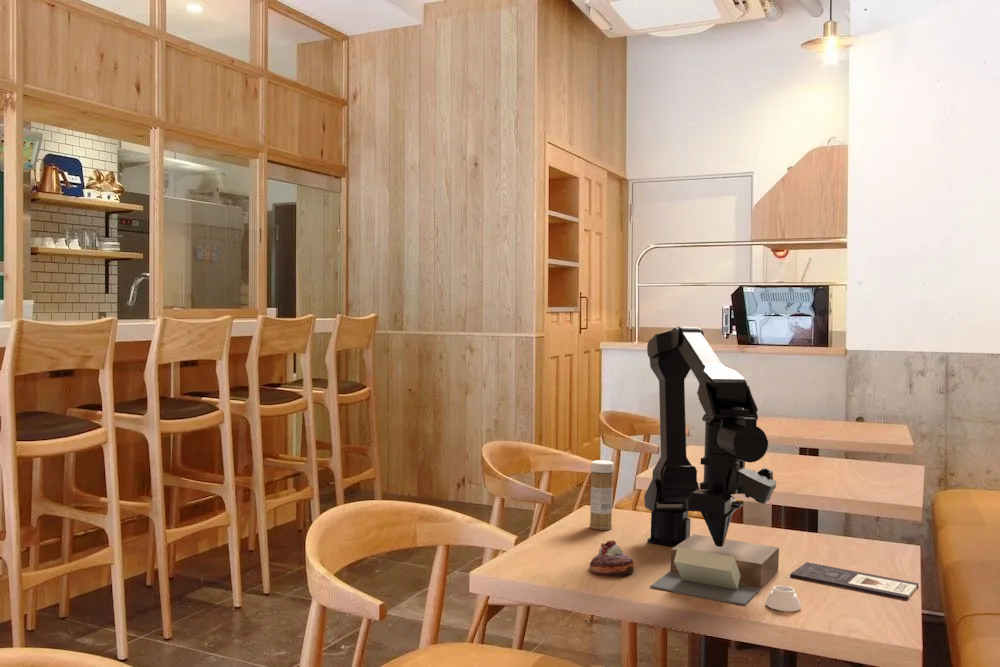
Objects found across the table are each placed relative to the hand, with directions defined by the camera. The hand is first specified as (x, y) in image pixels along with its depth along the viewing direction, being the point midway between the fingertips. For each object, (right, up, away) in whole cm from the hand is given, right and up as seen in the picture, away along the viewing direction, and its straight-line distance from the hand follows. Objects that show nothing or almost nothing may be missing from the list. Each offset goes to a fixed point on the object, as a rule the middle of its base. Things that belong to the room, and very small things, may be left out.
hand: (719, 546), depth 146 cm
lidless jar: (+6, -6, -13) cm, 16 cm away
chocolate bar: (+22, -7, 0) cm, 23 cm away
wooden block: (+2, -5, +4) cm, 7 cm away
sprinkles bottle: (-16, -4, +32) cm, 36 cm away
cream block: (-3, -1, -5) cm, 6 cm away
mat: (-4, -5, -6) cm, 9 cm away
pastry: (-17, -5, +3) cm, 18 cm away
